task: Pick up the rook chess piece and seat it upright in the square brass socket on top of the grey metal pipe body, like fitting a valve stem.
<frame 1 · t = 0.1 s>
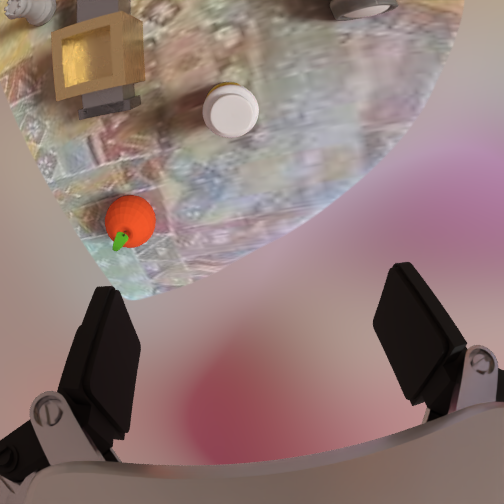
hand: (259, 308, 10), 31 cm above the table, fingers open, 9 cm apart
clementine: (134, 211, 41), on the table
supplement bottle: (228, 102, 34), on the table
rook chess piece: (45, 11, 22), on the table
valve body: (112, 42, 27), on the table
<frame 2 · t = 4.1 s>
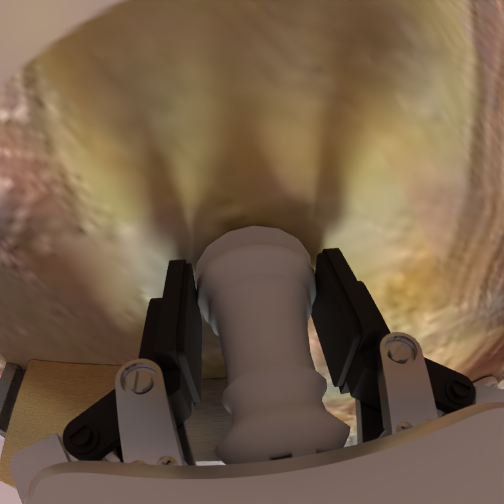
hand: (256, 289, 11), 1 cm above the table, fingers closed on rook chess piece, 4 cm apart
rook chess piece: (252, 266, 12), on the table, touching gripper
valve body: (132, 399, 17), on the table
when the fingers open (9 cm above the table, at t = 7.9 s): rook chess piece drops 2 cm, resting on valve body.
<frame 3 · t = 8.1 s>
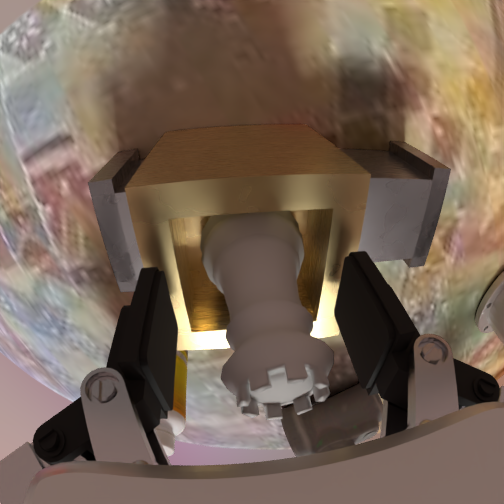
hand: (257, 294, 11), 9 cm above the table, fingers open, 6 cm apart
pipe fitting: (327, 396, 35), on the table
supplement bottle: (157, 343, 26), on the table
rook chess piece: (249, 235, 14), point 5 cm above the table, touching valve body
valve body: (271, 187, 19), on the table
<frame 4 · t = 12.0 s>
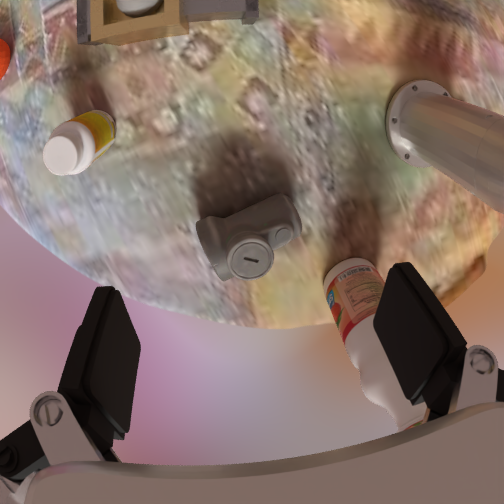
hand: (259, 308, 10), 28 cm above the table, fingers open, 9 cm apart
clementine: (0, 59, 22), on the table
pipe fitting: (248, 218, 41), on the table
supplement bottle: (97, 130, 31), on the table
fruit juice: (348, 278, 48), on the table
valve body: (169, 5, 24), on the table
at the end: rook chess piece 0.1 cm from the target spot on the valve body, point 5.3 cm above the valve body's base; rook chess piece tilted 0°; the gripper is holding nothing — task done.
